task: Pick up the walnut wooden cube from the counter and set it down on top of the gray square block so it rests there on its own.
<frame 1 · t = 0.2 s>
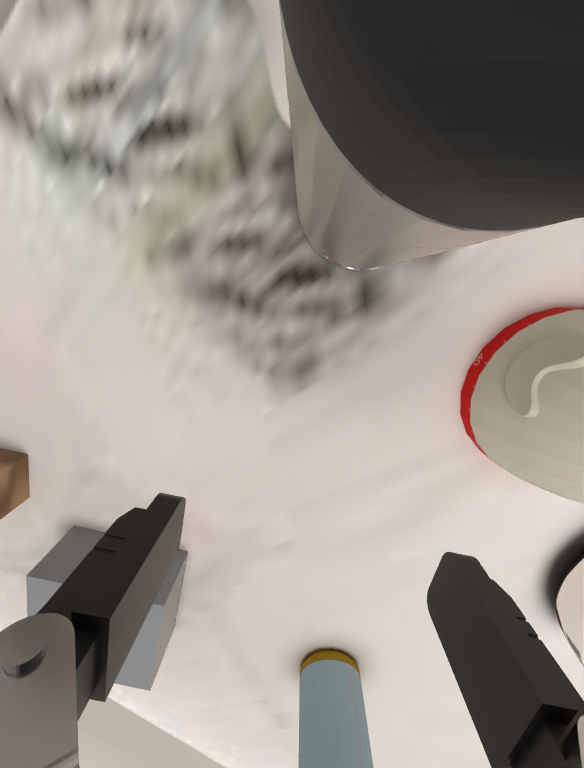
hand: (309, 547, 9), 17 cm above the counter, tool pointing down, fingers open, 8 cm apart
kitchen timer: (544, 392, 26), on the counter
walnut cube: (4, 470, 30), on the counter
gray square block: (128, 578, 34), on the counter
bottle: (329, 665, 37), on the counter
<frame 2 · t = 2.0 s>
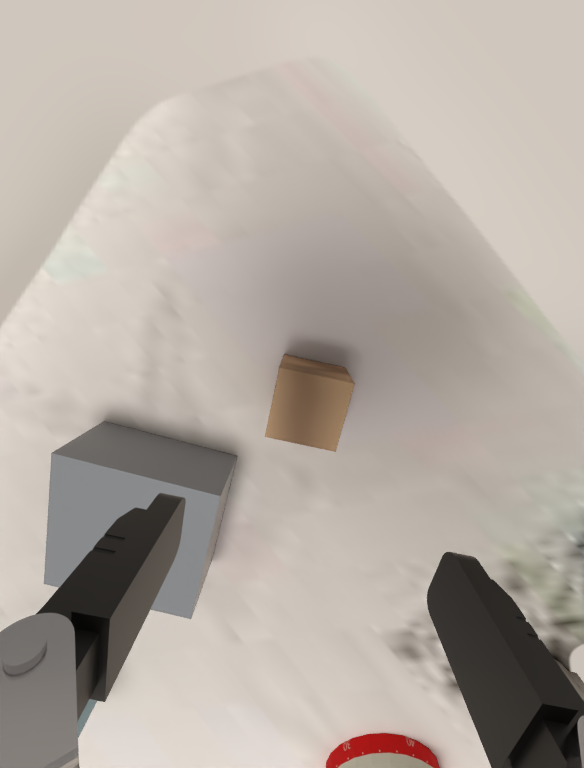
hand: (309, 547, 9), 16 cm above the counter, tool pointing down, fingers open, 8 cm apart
kitchen timer: (381, 766, 38), on the counter
walnut cube: (307, 389, 25), on the counter
gray square block: (162, 493, 29), on the counter
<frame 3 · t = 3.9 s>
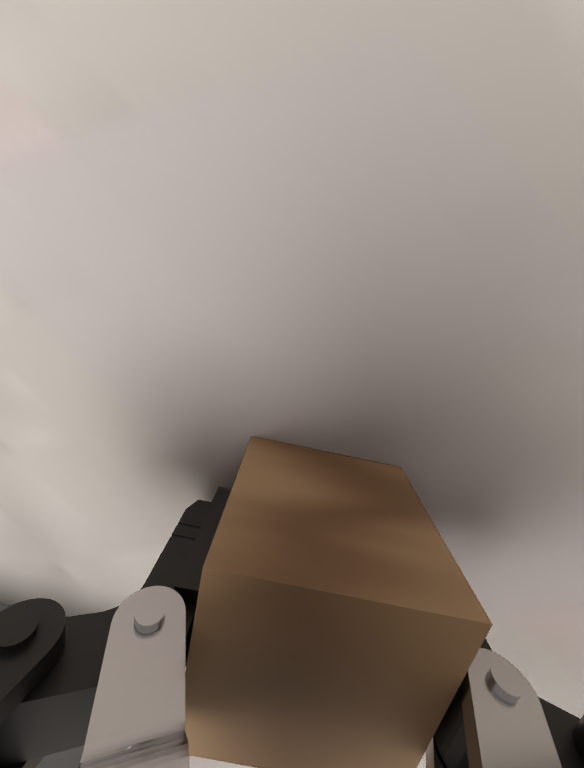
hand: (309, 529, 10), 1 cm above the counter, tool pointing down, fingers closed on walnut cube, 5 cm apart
walnut cube: (309, 515, 11), on the counter, touching gripper
gray square block: (14, 694, 14), on the counter
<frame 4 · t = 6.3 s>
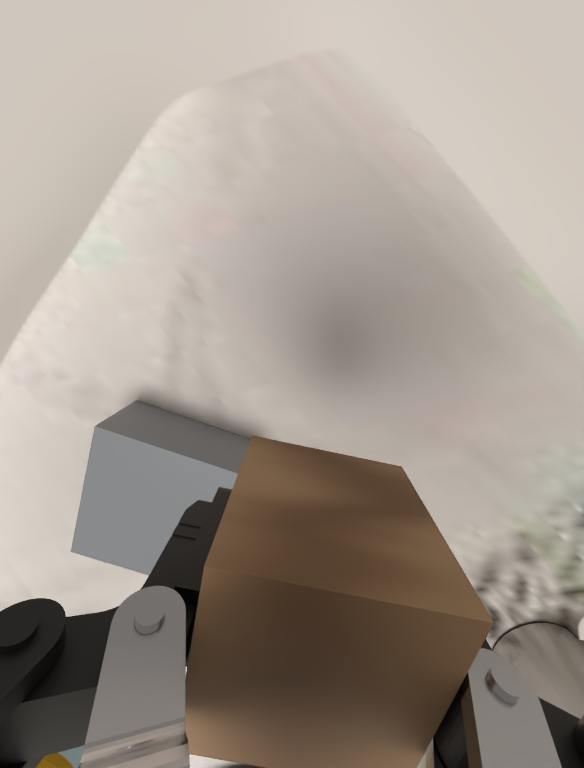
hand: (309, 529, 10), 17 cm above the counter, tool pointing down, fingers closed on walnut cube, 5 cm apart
walnut cube: (310, 514, 11), point 17 cm above the counter, touching gripper
gray square block: (184, 474, 30), on the counter
bottle: (106, 645, 36), on the counter
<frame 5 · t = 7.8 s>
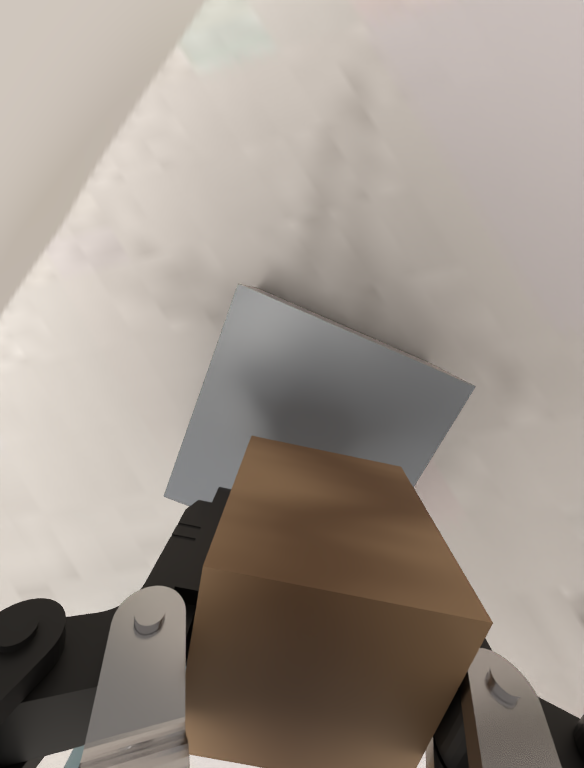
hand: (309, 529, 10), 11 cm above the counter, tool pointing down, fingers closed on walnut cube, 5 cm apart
walnut cube: (309, 514, 11), point 11 cm above the counter, touching gripper
gray square block: (306, 405, 21), on the counter
when the fingers open (8 cm above the counter, at t = 8.9 s): walnut cube drops 2 cm, resting on gray square block.
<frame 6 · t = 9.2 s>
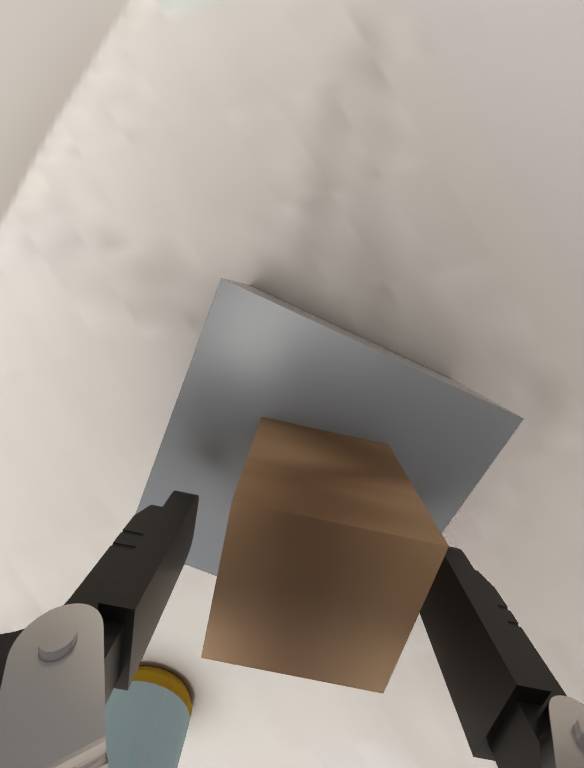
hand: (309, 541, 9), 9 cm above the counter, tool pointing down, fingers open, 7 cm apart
walnut cube: (310, 486, 12), point 6 cm above the counter, touching gray square block
gray square block: (305, 425, 18), on the counter, touching walnut cube
bottle: (152, 689, 25), on the counter
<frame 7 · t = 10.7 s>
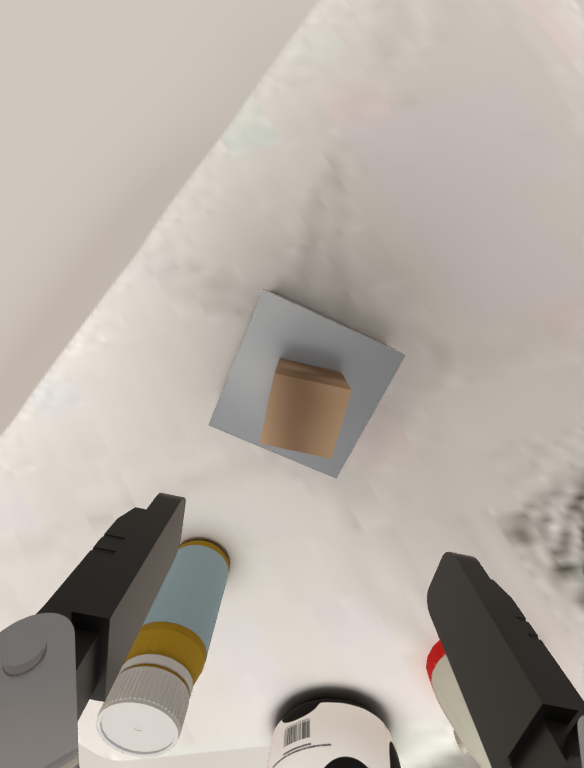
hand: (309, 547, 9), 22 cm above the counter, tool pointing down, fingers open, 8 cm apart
milk container: (330, 722, 44), on the counter
kitchen timer: (479, 660, 40), on the counter
walnut cube: (303, 394, 25), point 6 cm above the counter, touching gray square block
gray square block: (302, 374, 30), on the counter, touching walnut cube
bottle: (202, 559, 37), on the counter
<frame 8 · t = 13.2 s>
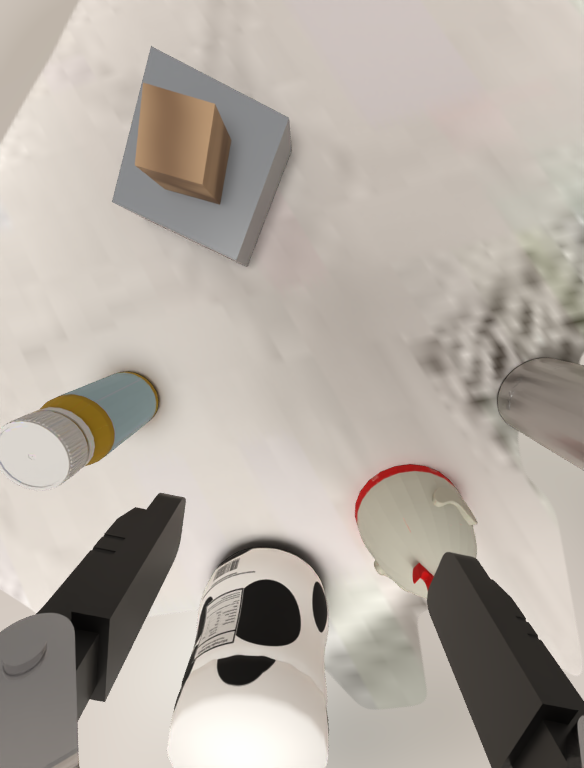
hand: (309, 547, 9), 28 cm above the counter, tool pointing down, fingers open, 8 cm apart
milk container: (268, 581, 46), on the counter
kitchen timer: (405, 508, 42), on the counter
walnut cube: (197, 165, 26), point 6 cm above the counter, touching gray square block
gray square block: (216, 186, 32), on the counter, touching walnut cube
bottle: (134, 397, 38), on the counter
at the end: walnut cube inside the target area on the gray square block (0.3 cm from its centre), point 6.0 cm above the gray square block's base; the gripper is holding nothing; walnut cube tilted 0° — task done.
